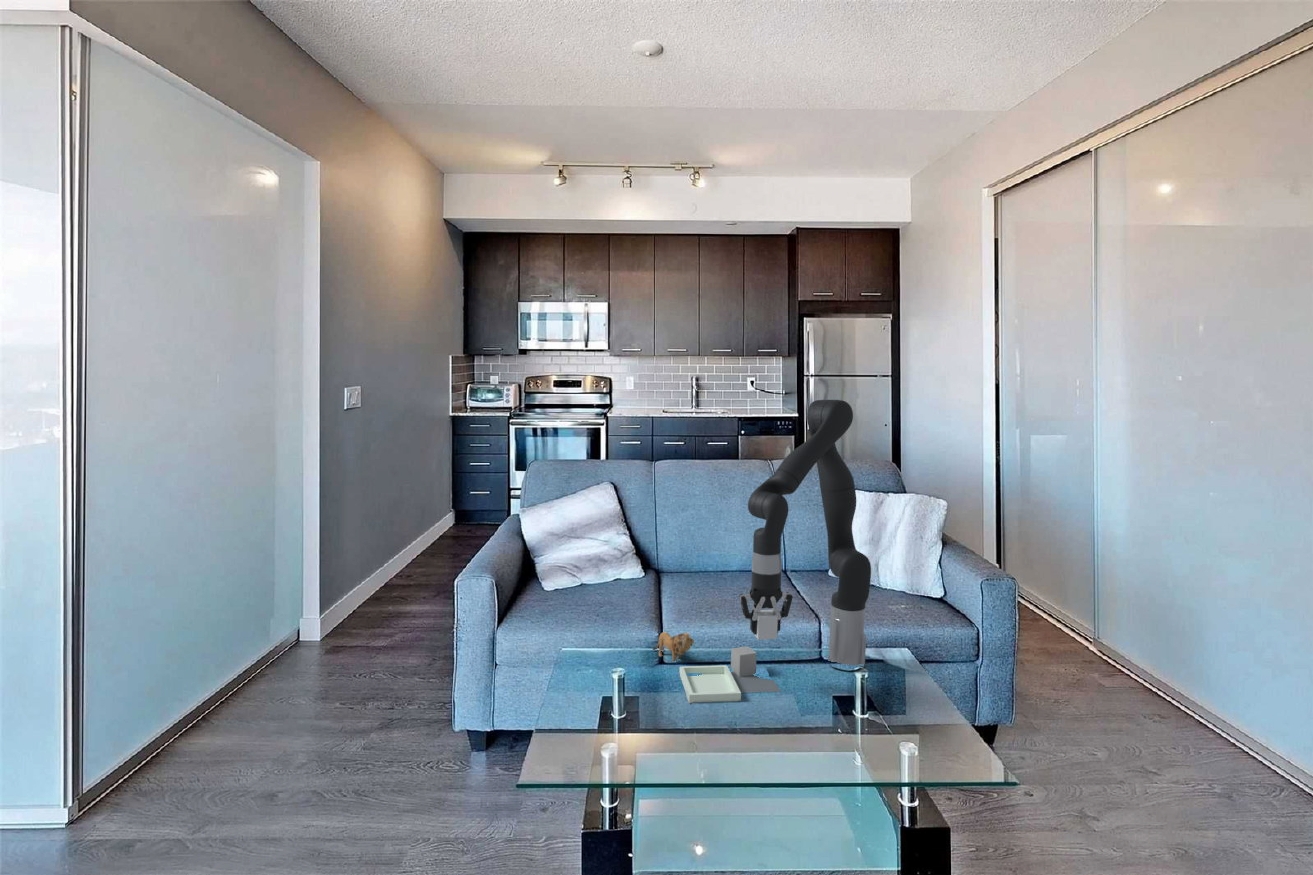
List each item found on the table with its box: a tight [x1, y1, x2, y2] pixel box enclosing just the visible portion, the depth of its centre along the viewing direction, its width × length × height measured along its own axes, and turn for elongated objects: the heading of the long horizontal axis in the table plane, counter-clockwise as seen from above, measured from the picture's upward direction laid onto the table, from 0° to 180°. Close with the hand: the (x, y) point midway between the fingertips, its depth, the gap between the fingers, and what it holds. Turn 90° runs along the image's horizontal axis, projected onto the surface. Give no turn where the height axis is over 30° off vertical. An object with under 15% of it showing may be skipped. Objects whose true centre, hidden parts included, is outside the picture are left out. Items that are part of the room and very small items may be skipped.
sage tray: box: [679, 664, 742, 705], centre depth 200 cm, size 13×17×2 cm
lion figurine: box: [652, 631, 695, 662], centre depth 218 cm, size 15×5×9 cm, turn 46°
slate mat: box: [731, 672, 782, 694], centre depth 206 cm, size 11×16×1 cm
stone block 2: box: [754, 609, 778, 641], centre depth 200 cm, size 5×5×6 cm
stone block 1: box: [730, 645, 758, 677], centre depth 209 cm, size 5×5×6 cm
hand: (765, 632), depth 200 cm, fingers closed on stone block 2, 5 cm apart
